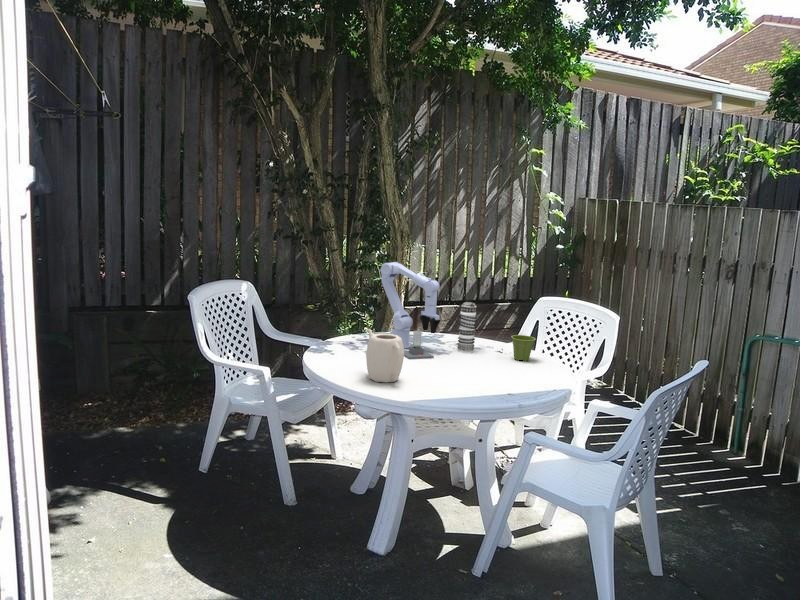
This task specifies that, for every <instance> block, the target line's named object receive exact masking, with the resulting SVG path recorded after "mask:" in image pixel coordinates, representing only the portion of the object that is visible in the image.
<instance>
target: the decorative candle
mask: <svg viewBox="0 0 800 600" xmlns="http://www.w3.org/2000/svg"><path fill="white" fill-rule="evenodd" d="M460 307H461V308H460V312H459V313H458V315H459V316H458V318H459V319H458V325H459V326H458V329H459V332H458V337H457V342H458V343H457V347H456V348H457V352H459V353H464V354H472V353H474V352H475V351H474V350H475V340H476V338H475V330H476V326H477V324H476V322H478V320H477V319H478V317H477V307H478V306H477V305H476V303H475V302H471V301H469V302H468V301H465V302H463V303H462V304H460Z"/></svg>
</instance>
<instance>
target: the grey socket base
mask: <svg viewBox="0 0 800 600" xmlns="http://www.w3.org/2000/svg"><path fill="white" fill-rule="evenodd" d="M404 358H406V359H408V360H421V359H422V360H423V359H424V360H425V359H434V358H435V356H434V355H432V354H431V353H429V352H428V351H425V348H423V347H422V346H421V347H415V346H413V345H410V346H409V348H408V350H404Z"/></svg>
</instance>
